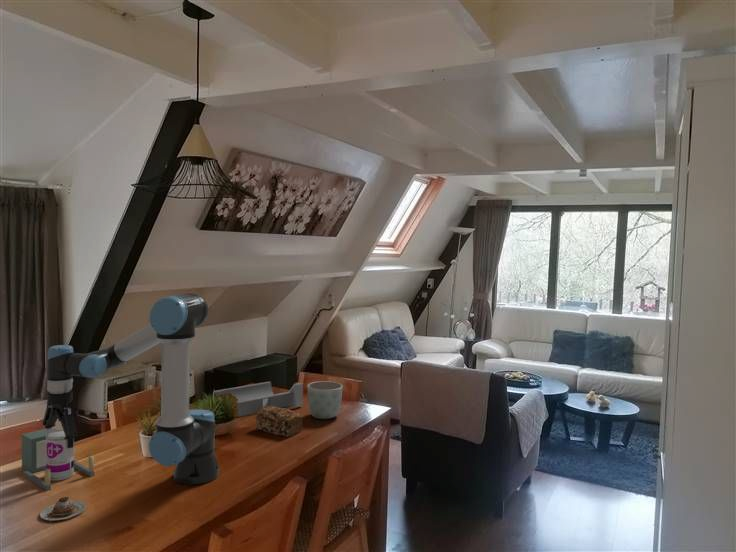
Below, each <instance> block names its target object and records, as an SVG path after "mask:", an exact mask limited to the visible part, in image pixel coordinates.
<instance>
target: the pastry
mask: <svg viewBox="0 0 736 552" xmlns="http://www.w3.org/2000/svg"><path fill="white" fill-rule="evenodd" d="M76 509H77V510H76ZM85 509H86V504H85V503H84V502H82V501H75V500H72V499H69V496H63V497H60V498H59V499H58V500H57V502H56V503H54V504H51V505H49V506H47V507H45V508H43V509H42V510H41V511H40V513H39V517H40V519H42V520H43V521H48V522H52V521H53V522H54V521H62V520H68V519H70V518H74V517H75V516H78V515H80V514H81V513H83V511H85ZM75 511H76V512H75ZM74 512H75V513H74ZM50 513H51V515H52V516H54V517H59V518H53V517H50V516H49V514H50ZM73 513H74V514H73ZM68 515H69V516H68ZM64 516H65V517H64Z"/></svg>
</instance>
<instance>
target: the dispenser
mask: <svg viewBox="0 0 736 552" xmlns="http://www.w3.org/2000/svg"><path fill="white" fill-rule="evenodd" d="M56 431H59V430H58V429H56V428H55V432H56ZM94 459H95V456H93V455H91V456H88V466H85V465H83V464H81V463H79V462H78V461H75V460H74V469H76V470H78V471H79V472H82V473H83V474H86V476H89V477H94V476H95V467H94V466H95V465H94V462H95V460H94ZM22 467H23V468H22ZM21 468H22V469H24V471H22V476H23V477H24V476H25V477H24V478H26V479H27V480H29V481H30V482H32V483H34V484H36V485H37V486H38V487H40V488H42V489H43V490H45V491H46V492H47V491H51V489H52V485H51V480H50V469H46V428H44V429H43V428H42V429H39V430H34V431H31V432H26V433H22V434H21ZM25 469H26V470H25ZM43 470H44V480H43V479H41V478H40V477H38V476H37V475H35V474H34V473H37V472H41V471H43Z"/></svg>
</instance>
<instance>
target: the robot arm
mask: <svg viewBox="0 0 736 552" xmlns="http://www.w3.org/2000/svg"><path fill="white" fill-rule="evenodd" d="M209 311H210V309H209V305H208V303H207V301H206V300H205V298H203V296H201V295H199V294H196V293H184V294H177V295H176V294H175V295H169V296H165V297H162V298H159V300H157V301H156V302H155V303H154V304H153V305H152V306H151V309H150V312H149V324H148V325H145V326H144V327H142V328H140V329H138V330H136V331H135V332H133V333H132V334H130V335H128V336H126V337H125V338H123V339H120V340H119V341H118V342H115V343H114V344H112V345H111V346H109V347H107V348H104V349H99V350H95V351H91V352H88V353H80V352H79V353H78V352H77V353H76V352H74V347H73V346H72V345H70V344H69V345H67V344H57V345H52V346H50V347H49V348H48V349H47V350H48V351H47V359H46V360H47V361H46V362H47V379H46V381H47V382H46V387H47V388H46V391H47V394H46V395H47V396H46V399H47V400H46V409H45V412H44V416H43V420H42V426H44V429H46V439H47V438H48V435H49V434H50V433H52V432H55V429H56V422H57V421H58V422H60V424H61V427H62V429H63V430H64V433H65V436H66V437H65V438H64V458H68V457H71V456H74V457H75V438H77V437H78V436H79V435H78V431H77V425H76V421H75V416H74V408H73V407H69V405H68V404H69V403H71V402H72V401H73V392H74V391H73V390H72V389H73V382H74V379H73V377H74V376H75V377H84V378H89V379H90V378H100V377H101V376H102V375H103V374H105V372H106V371H109V370H111V369H115V368H120V367H122V366H124V365H126V364H127V363H128V361H130V360H132V359H133V358H135V357H137V356H138V355H140V354H143V353H144V352H146V351H148V350H149V349H151V348H153V347H155V346H156V345H159V344H160V343H161V371H160V372H161V377H160V378H161V385H160V386H161V388H160V389H161V392H160V394H161V395H160V397H161V399H160V401H161V403H160V404H161V405H160V406H161V407H160V410H161V411H160V417H159V418H158V419H157V420H156V421H155V433H153V435H152V436H151V437H150V439H149V441H148V451H149V454H150V456H151V458H152V459H153V460H155V462H156V463H157V464H159V465H160V466H161V465H162V466H165V467H172V466H175V468H174V470H173V480H174V481H175V482H176V483H179V484H183V485H189V486H190V485H191V486H192V485H201V484H206V483H209V482H211V481H214V480H215V479H217V478H218V477H219V474H220V467H219V463H218V460H217V458H216V454H215V426H216V425H215V423H216V420H215V414H214V412H213V411H211V410H207V409H190V368H191V367H190V364H191V362H190V361H191V360H190V358H191V357H190V356H191V353H190V352H191V351H190V350H191V346H190V345H191V342H192V340H194V338H195V337H196V328H197V327H199V326H201V325H203V324H204V323H205V321H206V320H207V319H208V317H209Z"/></svg>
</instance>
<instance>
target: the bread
mask: <svg viewBox="0 0 736 552" xmlns="http://www.w3.org/2000/svg"><path fill="white" fill-rule="evenodd" d="M255 425H256V429H257V430H258V431H260V430H261V431H263V432H266V433H269V434H273V435H278V436H283V437H292V436H294V435H295V434H299V433H301V431H302V427H303V417H302V416H301V414H300V413H298V412H295V411H294V410H291V409H288V408H286V407H284V408H280V407H274V406H265V407H262V408H260V409H259V410H258V411H257V413H255Z"/></svg>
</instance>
